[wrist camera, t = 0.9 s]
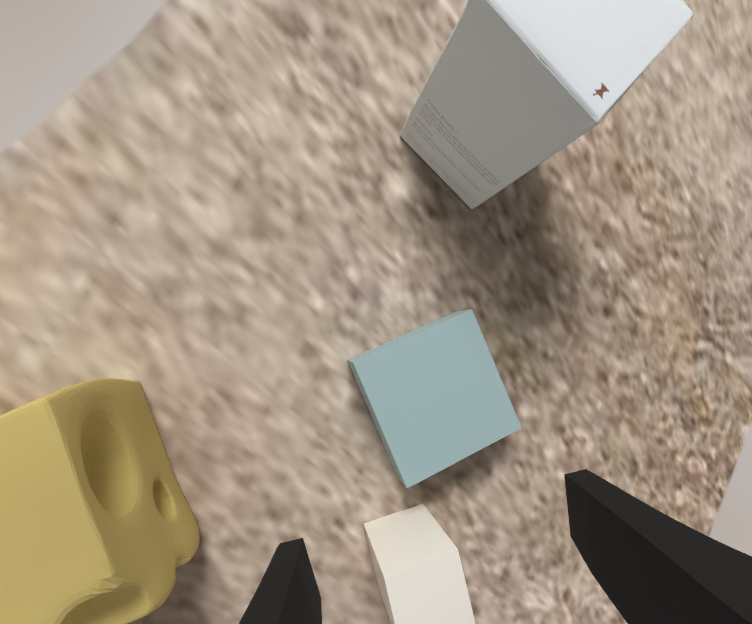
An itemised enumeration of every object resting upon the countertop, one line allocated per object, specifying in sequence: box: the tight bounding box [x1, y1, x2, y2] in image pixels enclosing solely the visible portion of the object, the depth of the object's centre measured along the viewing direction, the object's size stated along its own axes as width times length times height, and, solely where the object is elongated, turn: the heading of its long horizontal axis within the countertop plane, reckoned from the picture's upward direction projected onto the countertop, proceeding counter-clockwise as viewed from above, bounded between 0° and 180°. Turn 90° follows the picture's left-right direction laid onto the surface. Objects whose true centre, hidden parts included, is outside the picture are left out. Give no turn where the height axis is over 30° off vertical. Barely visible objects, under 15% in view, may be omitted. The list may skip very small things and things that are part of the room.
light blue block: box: [348, 309, 521, 488], centre depth 27 cm, size 8×8×3 cm
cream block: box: [364, 504, 475, 624], centre depth 25 cm, size 4×4×6 cm
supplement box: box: [400, 0, 693, 209], centre depth 24 cm, size 7×7×13 cm
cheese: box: [0, 379, 200, 624], centre depth 19 cm, size 10×11×10 cm
